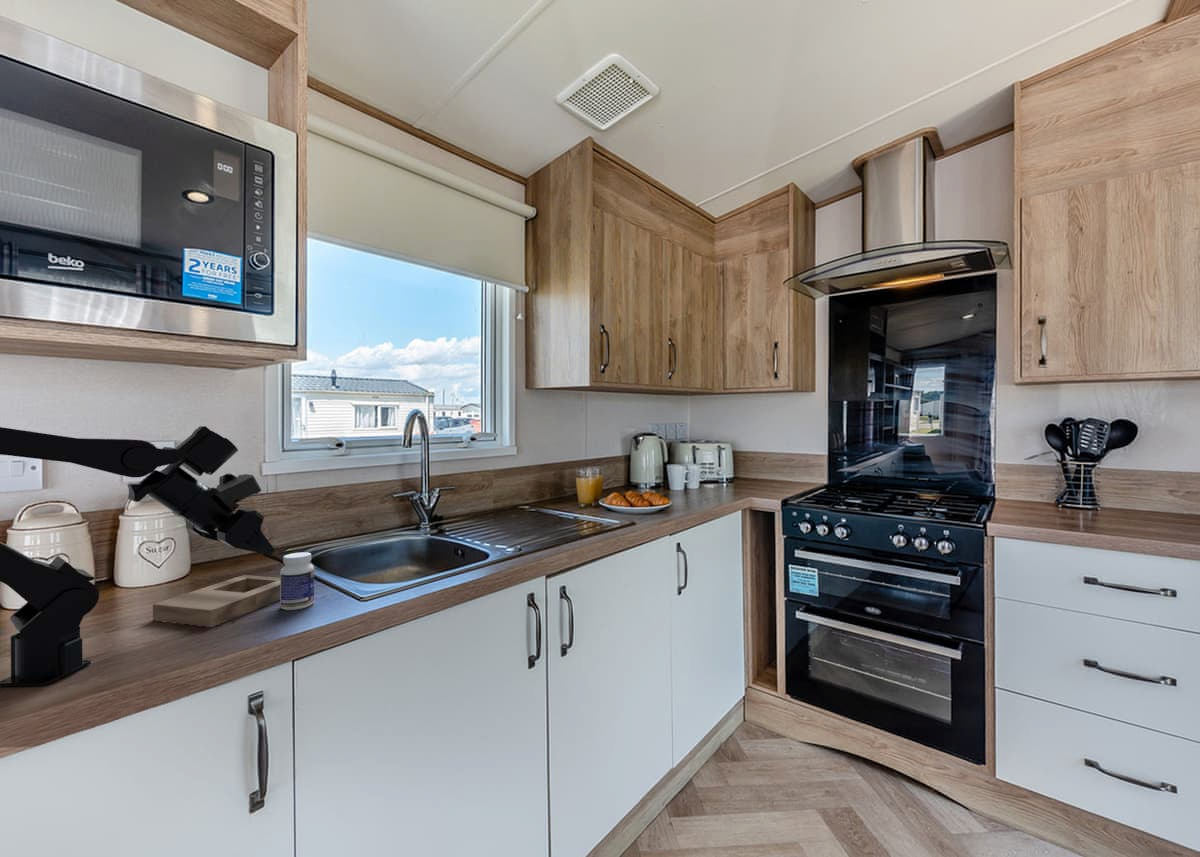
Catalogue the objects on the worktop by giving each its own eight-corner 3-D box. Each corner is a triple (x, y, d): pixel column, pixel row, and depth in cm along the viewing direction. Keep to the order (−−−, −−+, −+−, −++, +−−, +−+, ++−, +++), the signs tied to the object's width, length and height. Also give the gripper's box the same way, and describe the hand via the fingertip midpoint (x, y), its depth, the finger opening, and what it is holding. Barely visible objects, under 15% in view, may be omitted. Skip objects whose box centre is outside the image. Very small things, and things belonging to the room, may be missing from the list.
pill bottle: (318, 605, 98) (318, 554, 98) (285, 613, 94) (285, 560, 94) (308, 598, 102) (308, 549, 102) (275, 606, 98) (275, 555, 98)
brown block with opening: (211, 627, 87) (211, 610, 87) (152, 620, 90) (152, 604, 90) (295, 593, 105) (295, 579, 105) (243, 588, 108) (243, 574, 108)
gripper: (249, 462, 83) (318, 519, 92) (206, 458, 93) (272, 508, 103) (191, 517, 76) (271, 572, 86) (151, 506, 87) (227, 555, 96)
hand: (261, 549), depth 93 cm, fingers open, 9 cm apart
